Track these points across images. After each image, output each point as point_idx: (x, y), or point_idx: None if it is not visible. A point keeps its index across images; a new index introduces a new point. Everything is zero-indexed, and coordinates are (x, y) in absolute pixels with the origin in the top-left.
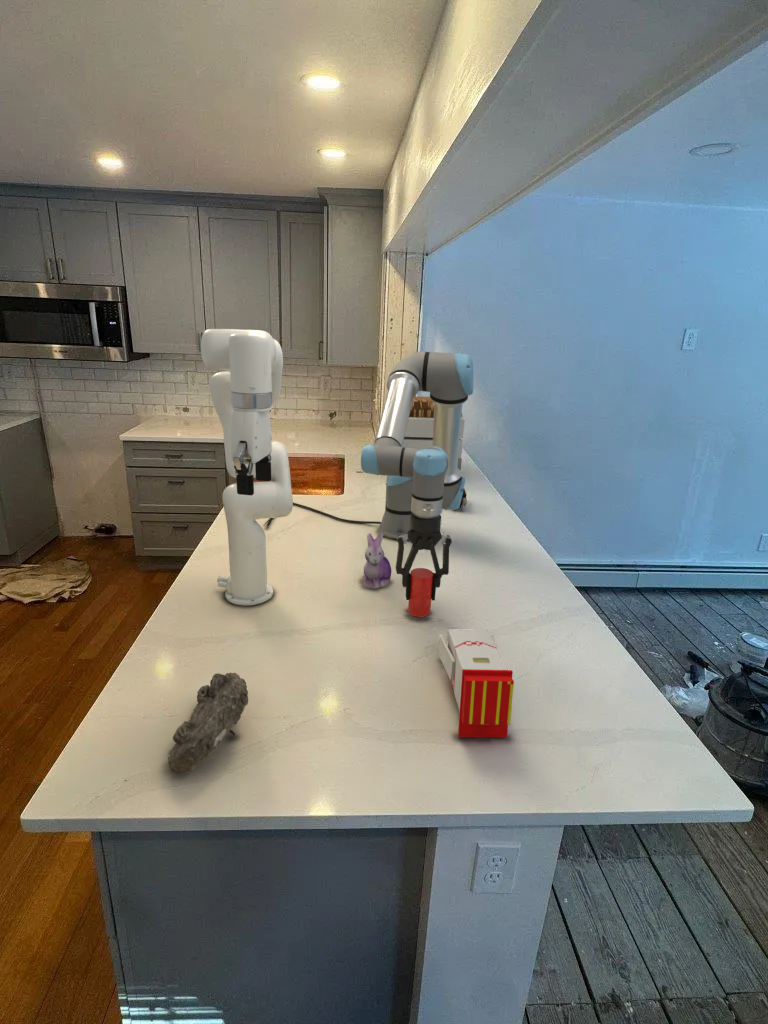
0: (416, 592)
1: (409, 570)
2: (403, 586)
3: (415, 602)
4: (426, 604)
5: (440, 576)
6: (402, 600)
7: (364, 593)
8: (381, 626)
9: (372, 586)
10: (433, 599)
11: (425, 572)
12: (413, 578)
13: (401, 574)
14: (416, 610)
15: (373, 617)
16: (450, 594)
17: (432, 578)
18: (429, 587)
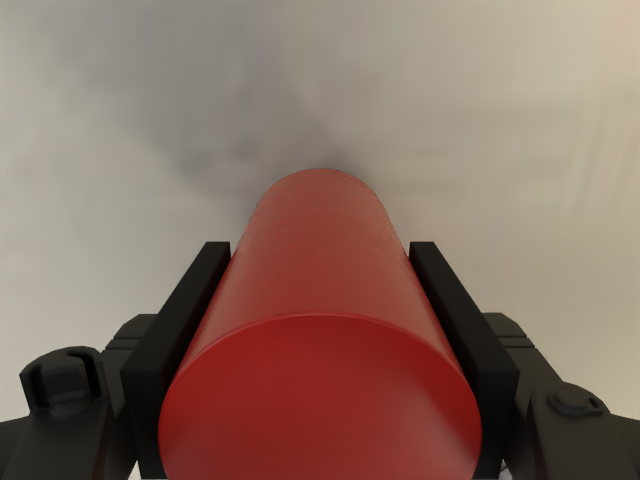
0: (375, 237)
1: (552, 459)
2: (501, 316)
3: (366, 205)
4: (277, 199)
5: (47, 367)
6: None
7: None
8: (576, 87)
9: None
10: (216, 245)
11: (267, 465)
12: (447, 344)
13: (614, 415)
14: (350, 183)
15: (597, 194)
16: None
17: (181, 362)
18: (237, 271)
